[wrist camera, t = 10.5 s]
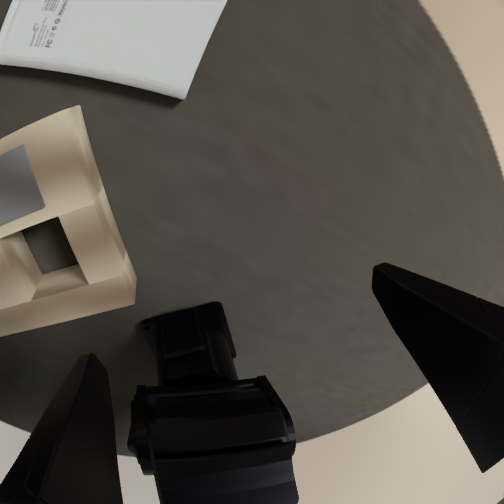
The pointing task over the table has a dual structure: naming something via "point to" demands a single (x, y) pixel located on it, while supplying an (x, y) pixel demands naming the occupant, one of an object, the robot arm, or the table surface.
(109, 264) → the socket block
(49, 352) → the table surface
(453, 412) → the robot arm
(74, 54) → the external hard drive
